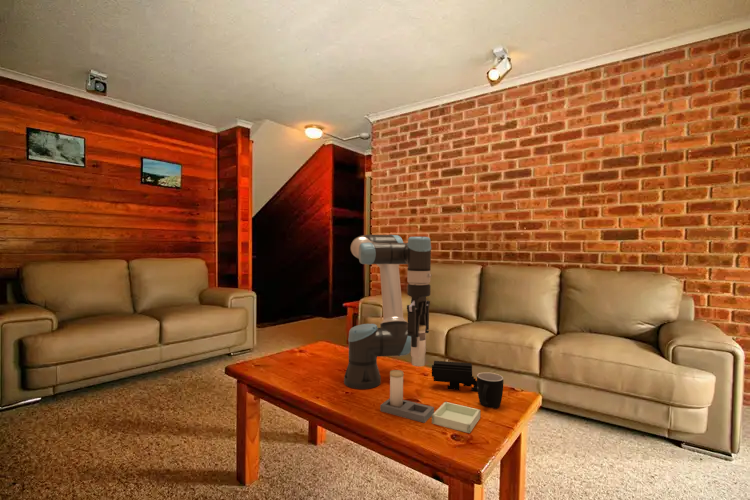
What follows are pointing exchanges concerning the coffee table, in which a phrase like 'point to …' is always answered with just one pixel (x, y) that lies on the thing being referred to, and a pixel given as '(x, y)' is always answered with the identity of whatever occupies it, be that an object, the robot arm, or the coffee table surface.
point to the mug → (490, 389)
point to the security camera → (454, 374)
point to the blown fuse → (421, 359)
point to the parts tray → (456, 417)
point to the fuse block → (404, 401)
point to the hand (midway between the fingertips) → (418, 354)
